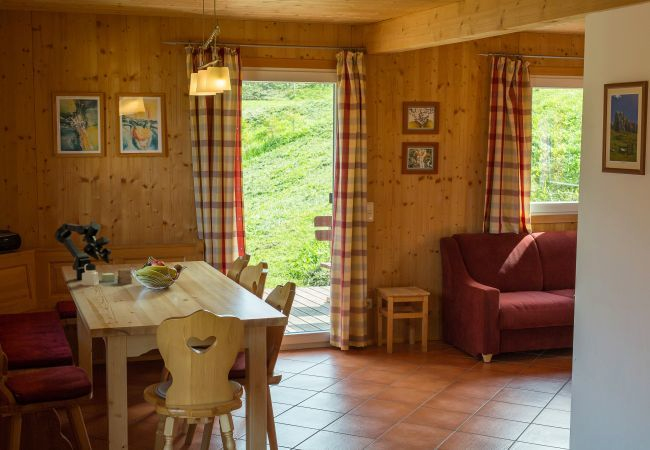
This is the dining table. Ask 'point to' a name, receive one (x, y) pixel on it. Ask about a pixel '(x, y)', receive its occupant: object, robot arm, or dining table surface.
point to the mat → (112, 283)
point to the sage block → (108, 277)
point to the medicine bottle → (90, 275)
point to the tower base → (124, 280)
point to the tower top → (124, 272)
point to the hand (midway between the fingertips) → (103, 261)
